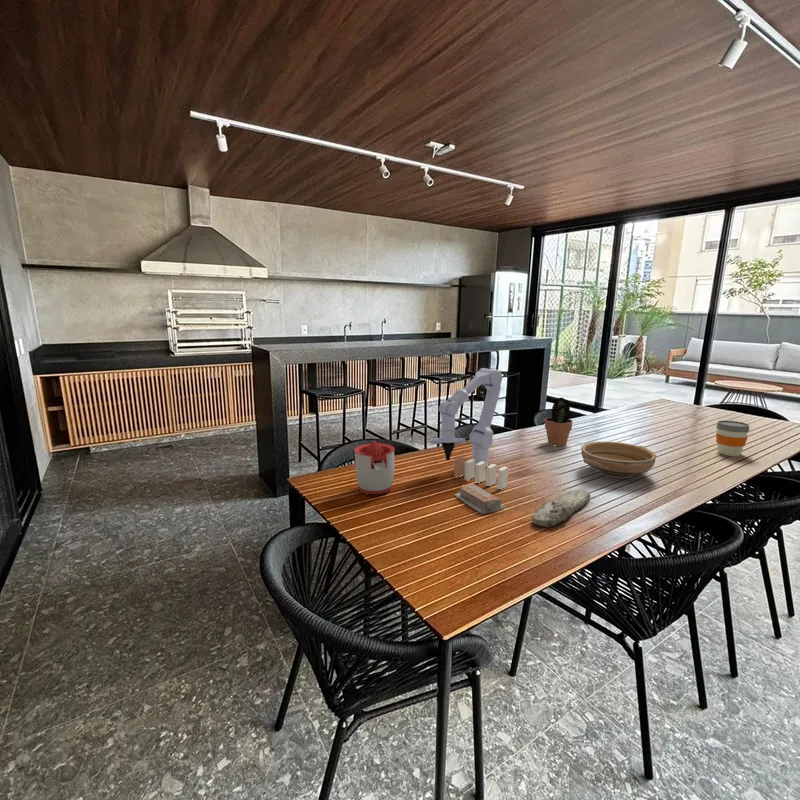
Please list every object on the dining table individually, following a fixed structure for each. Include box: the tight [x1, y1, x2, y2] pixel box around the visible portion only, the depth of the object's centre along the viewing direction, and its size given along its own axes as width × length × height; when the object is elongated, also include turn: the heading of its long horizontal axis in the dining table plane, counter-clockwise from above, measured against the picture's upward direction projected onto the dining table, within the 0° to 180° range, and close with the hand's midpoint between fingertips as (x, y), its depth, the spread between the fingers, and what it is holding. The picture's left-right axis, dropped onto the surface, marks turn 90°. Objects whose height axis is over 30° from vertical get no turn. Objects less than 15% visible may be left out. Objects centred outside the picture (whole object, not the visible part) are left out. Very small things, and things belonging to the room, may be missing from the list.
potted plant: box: [544, 397, 573, 447], centre depth 224 cm, size 14×14×25 cm
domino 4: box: [485, 463, 498, 487], centre depth 172 cm, size 2×5×8 cm, turn 140°
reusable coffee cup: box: [715, 420, 750, 457], centre depth 207 cm, size 12×13×15 cm
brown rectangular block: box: [453, 456, 466, 477], centre depth 182 cm, size 2×5×8 cm, turn 140°
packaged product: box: [453, 483, 505, 515], centre depth 156 cm, size 18×5×10 cm
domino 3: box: [474, 461, 486, 484], centre depth 175 cm, size 2×5×8 cm, turn 140°
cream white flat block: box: [464, 458, 475, 480], centre depth 178 cm, size 2×5×8 cm, turn 140°
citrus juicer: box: [353, 440, 396, 495], centre depth 166 cm, size 16×17×20 cm
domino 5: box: [496, 466, 509, 491], centre depth 169 cm, size 2×5×8 cm, turn 140°
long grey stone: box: [531, 489, 591, 528], centre depth 149 cm, size 35×5×10 cm
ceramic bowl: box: [580, 441, 657, 479], centre depth 183 cm, size 37×29×10 cm
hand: (447, 459), depth 185 cm, fingers closed
